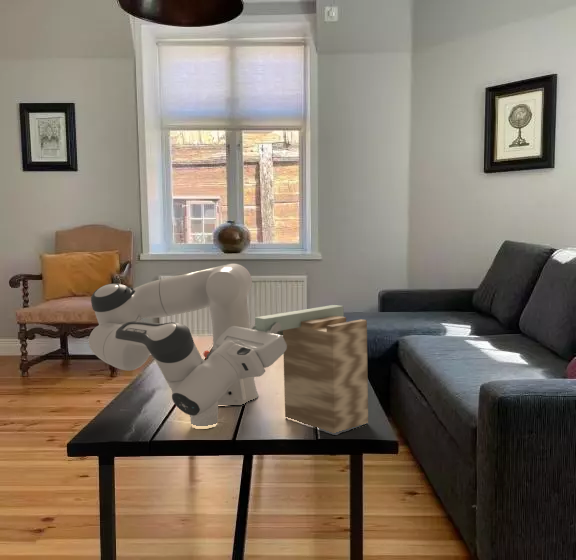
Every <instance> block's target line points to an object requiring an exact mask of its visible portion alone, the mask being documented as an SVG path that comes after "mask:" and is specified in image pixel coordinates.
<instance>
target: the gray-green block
mask: <svg viewBox="0 0 576 560" xmlns="http://www.w3.org/2000/svg"><path fill="white" fill-rule="evenodd" d="M344 310H345V309H344V305H336V304H330V305H326V306H325V305H323V306H317V307H313V308H307V309H305V308H304V309H300V310H294V311H286V312H281V313H280V312H279V313H275V314H267V315H261V316H255V317H254V321H255V322H254V323H255V324H254V325H255V330H258V331H263V332H267V331H268V330H269V331H270V330H271V325H272V324H273V323H274V322H277V323H280V325H281V329H280V330H279V331H278V332H281V331H283V330H287V329H292V328H298V327H301V322H302V321H307V320H313V319H319V318H324V317H330V316H341V317H345V316H344V315H345V314H344Z"/></svg>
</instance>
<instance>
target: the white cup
mask: <svg viewBox="0 0 576 560" xmlns="http://www.w3.org/2000/svg"><path fill="white" fill-rule="evenodd" d="M218 405H219V400H218V401H217V402H216V403H215V404H213V405H212V406H211V407H210V408H208V409H207V410H206V411H204V412H202V413H201V414H199V415H196V416H192V415H189V417H190V425H191V424H193V425H196V426H208V425H213V424H216V423H217V422H218V421H219V418H218V417H219V407H218ZM218 423H219V422H218Z"/></svg>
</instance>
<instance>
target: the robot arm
mask: <svg viewBox="0 0 576 560" xmlns="http://www.w3.org/2000/svg"><path fill="white" fill-rule="evenodd" d="M252 286H253V280H252V276H251V273H250V272H249V270H248V269H247V268H246V267H245V266H244V265H241V264H239V263H227V264H223V265H219V266H216V267H215V266H214V267H211V268H206V269H202V270H198V271H193V272H189V273H184V274H180V275H175V276H170V277H165V278H161V279H157V280H153V281H152V280H151V281H149V282H147V283H146V282H145V283H144V284H141V285H138V286H136V287H134V288H133V287H132V286H127V285H124V284H121V283H115V282H112V283H108V284H105V285H102V286H100V287H99V288H97V289H95V291H94V292H93V294H92V295H91V297H90V303H91V307H92V308H91V309H92V311H94V314H95V317H96V320H97V323H98V325H97V326H95V327H94V328H93V330H91V332H90V335H89V337H88V345H89V346H88V347H89V349H90V350H91V352H92V353H93V354H94V355H95V356H96V357H97V358H98V359H99V360H101V361H103V362H104V363H106V364H107V365H110V366H112V367H114V368H116V369H119V370H122V371H135V370H137V369H139V368H140V367H142V366H143V365H144V364H145V363H146V362H147V361H148V359H149V357H150V356H152V357H153V359H154V361H155V363H156V365H157V366H158V368H159V370H160V371H161V374H162V375H163V378H164V379H165V381H166V383H167V385H168V387H169V388H170V390H171V392H172V393H171V398H172V399H171V400H172V402H173V404H174V405H175V406H176V408H178V409H179V410H180V411H181V412H182V413H184V414H185V415H189V416H190V415H192V416H196V415H199V414H201V413H202V412H204V411H206V410H207V409H208V408H210V407H211V406H212V405H213V404H215V403H216V402H217V401H218V400H219V405H242V404H244V405H246V404H247V403H249V402H251V401H250V400H252V401H254V400H255V398H256V399H257V398H258V397H259V393H258V391H257V386H256V382H255V378H257V377H259V378H260V377H262V376H263V375H264V374H265V373H266V368H268V367H270V366H272V365H274V364H275V362H276V361H277V360H279V358H281V356H282V355H284V354H283V353H284V352H285V351H286V349H287V344H286V342H285V340H284V338H283V334H278V332H280V331H279V330H280V329H281V325H280V323H277V322H274V323H273V324H272V325H271V330H270V331H269V330H268V331H267V332H263V331H258V330H255V324H253V325H251V320H250V313H249V308H248V299H247V296H248V294H249V293H250V291H251V288H252ZM207 308H209V314H210V318H211V326H212V342H213V343H212V348H211V351H209V350H204V351H203V357H204V358H206V359H204V358H202V355H201V354H200V352H199V350H198V348H197V346H196V344H195V341H194V338H193V336H192V334H191V330H190V328H189V326H187V325H185V324H183V323H179V322H176V321H175V322H171V321H170V322H165V323H157V322H152V321H151V322H149V321H143V320H142V319H156V318H165V317H172V316H176V315H180V314H181V315H182V314H186V313H191V312H195V311H199V310H202V309H207ZM253 399H254V400H253ZM248 401H249V402H248ZM246 402H247V403H246ZM245 403H246V404H245ZM242 406H243V405H242Z"/></svg>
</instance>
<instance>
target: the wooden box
mask: <svg viewBox="0 0 576 560" xmlns="http://www.w3.org/2000/svg"><path fill="white" fill-rule="evenodd" d="M367 323H368V321H367V319H362V318H360V319H356V320H355V319H354V320H350V321H347V317H346V316H344V317H341V316H330V317H324V318H319V319H313V320H307V321H302V322H301V327H298V328H292V329H287V330H282V336H283V338H284V340H285V342H286V344H287V349H286V351H285V352H284V353H283V354H282V355H283V381H284V383H283V384H284V386H283V387H284V415H285V416H284V418H285V417H288V418H291V419H294V420H297V421H299V422H302V423H304V424H308V425H311V426H315V427H318V428H321V429H324V430H326V431H329V432H332V433H336V432H339V431H342V430H346V429H349V428H352V427H356V426H359V425H363V424H366V423H368V424H369V397H368V395H369V392H368V391H369V390H368V389H369V386H368V384H369V383H368V379H369V378H368V325H367Z"/></svg>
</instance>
